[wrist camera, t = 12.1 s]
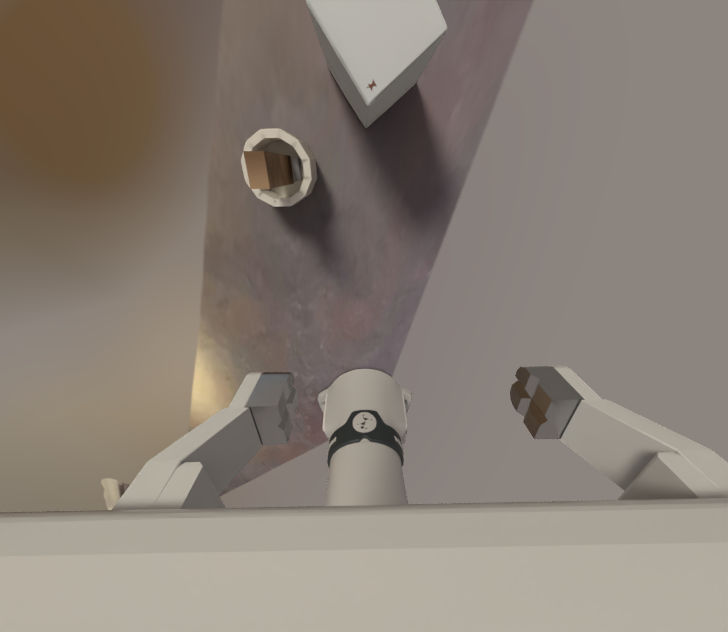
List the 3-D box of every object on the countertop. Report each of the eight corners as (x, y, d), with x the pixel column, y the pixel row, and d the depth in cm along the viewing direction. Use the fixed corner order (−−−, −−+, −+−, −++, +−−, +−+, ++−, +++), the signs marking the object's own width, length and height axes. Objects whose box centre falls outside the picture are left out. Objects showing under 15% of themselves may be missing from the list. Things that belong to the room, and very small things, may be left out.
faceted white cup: (319, 201, 35) (314, 205, 31) (263, 202, 35) (251, 207, 31) (313, 132, 31) (305, 127, 28) (249, 134, 32) (234, 129, 28)
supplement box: (418, 82, 29) (452, 31, 18) (365, 130, 31) (366, 110, 20) (381, 5, 26) (394, -112, 15) (325, 64, 29) (301, -2, 18)
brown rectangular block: (293, 183, 33) (269, 188, 25) (279, 183, 33) (250, 188, 25) (290, 155, 32) (263, 151, 23) (275, 155, 32) (243, 151, 23)
